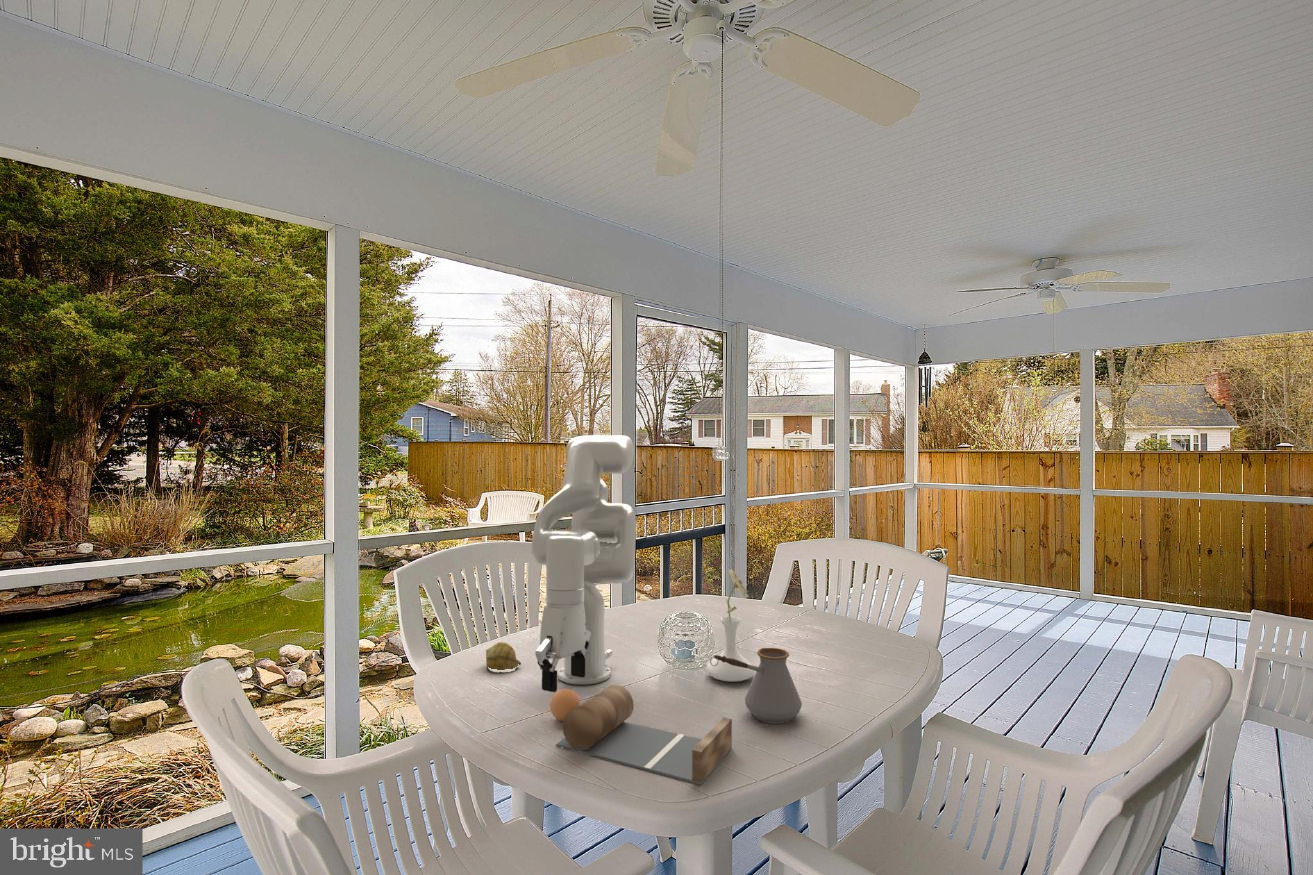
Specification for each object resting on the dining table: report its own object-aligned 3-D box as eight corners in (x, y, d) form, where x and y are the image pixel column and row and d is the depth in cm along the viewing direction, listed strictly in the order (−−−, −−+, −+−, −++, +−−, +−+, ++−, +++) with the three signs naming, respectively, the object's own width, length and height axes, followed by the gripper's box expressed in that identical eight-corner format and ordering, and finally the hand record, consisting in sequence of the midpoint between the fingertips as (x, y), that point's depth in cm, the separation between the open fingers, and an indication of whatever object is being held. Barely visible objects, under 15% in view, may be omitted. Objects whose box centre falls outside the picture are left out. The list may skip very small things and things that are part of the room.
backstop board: (723, 744, 119) (723, 717, 119) (731, 746, 118) (731, 718, 118) (692, 780, 107) (692, 749, 107) (701, 782, 106) (701, 751, 106)
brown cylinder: (603, 716, 131) (603, 681, 131) (633, 723, 128) (633, 687, 128) (562, 745, 118) (562, 707, 118) (594, 754, 115) (595, 714, 115)
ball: (561, 711, 134) (561, 682, 134) (585, 716, 132) (586, 687, 132) (543, 722, 129) (543, 692, 129) (568, 728, 126) (568, 697, 126)
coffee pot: (774, 699, 140) (774, 630, 140) (813, 719, 131) (814, 644, 131) (694, 723, 129) (694, 647, 129) (731, 746, 119) (731, 664, 119)
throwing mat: (596, 717, 132) (596, 714, 132) (731, 748, 118) (731, 745, 118) (555, 746, 119) (555, 743, 119) (701, 785, 106) (701, 781, 106)
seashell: (516, 684, 160) (528, 653, 164) (511, 675, 154) (524, 643, 159) (480, 675, 161) (493, 644, 166) (473, 665, 156) (487, 633, 160)
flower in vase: (753, 688, 147) (753, 577, 147) (703, 684, 149) (703, 575, 149) (756, 668, 160) (756, 566, 160) (710, 664, 162) (710, 564, 162)
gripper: (574, 587, 139) (573, 668, 139) (522, 602, 124) (521, 693, 123) (603, 590, 136) (603, 673, 135) (554, 606, 121) (553, 700, 120)
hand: (564, 683), depth 129 cm, fingers open, 9 cm apart
